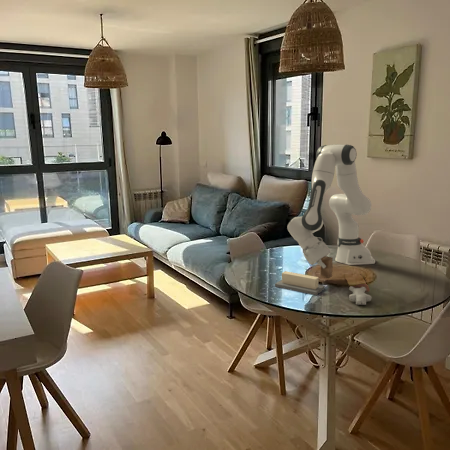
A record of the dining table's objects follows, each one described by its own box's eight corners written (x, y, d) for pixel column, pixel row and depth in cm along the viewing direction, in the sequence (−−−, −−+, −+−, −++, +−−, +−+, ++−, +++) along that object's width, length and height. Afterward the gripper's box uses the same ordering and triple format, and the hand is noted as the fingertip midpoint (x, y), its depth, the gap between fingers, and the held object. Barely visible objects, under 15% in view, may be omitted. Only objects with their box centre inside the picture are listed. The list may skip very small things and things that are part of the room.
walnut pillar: (320, 277, 227) (320, 258, 225) (324, 274, 231) (324, 256, 228) (328, 278, 225) (329, 259, 222) (332, 276, 228) (332, 257, 226)
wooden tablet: (372, 290, 210) (350, 287, 211) (371, 295, 210) (349, 292, 211) (362, 273, 236) (343, 270, 237) (362, 277, 236) (342, 274, 237)
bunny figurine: (350, 297, 194) (347, 282, 208) (350, 308, 196) (346, 292, 210) (373, 298, 192) (368, 283, 206) (372, 309, 194) (367, 293, 208)
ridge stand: (275, 286, 221) (275, 274, 219) (284, 280, 229) (284, 268, 227) (316, 295, 208) (316, 282, 207) (324, 288, 216) (325, 276, 215)
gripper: (305, 245, 219) (323, 267, 216) (322, 236, 236) (339, 257, 232) (297, 253, 223) (315, 275, 220) (314, 243, 239) (331, 264, 236)
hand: (327, 265), depth 226 cm, fingers closed on walnut pillar, 4 cm apart
